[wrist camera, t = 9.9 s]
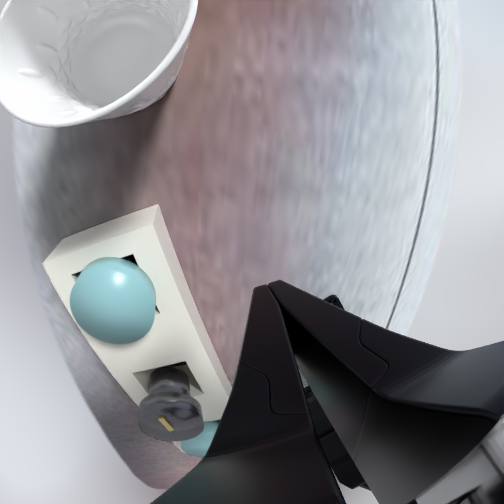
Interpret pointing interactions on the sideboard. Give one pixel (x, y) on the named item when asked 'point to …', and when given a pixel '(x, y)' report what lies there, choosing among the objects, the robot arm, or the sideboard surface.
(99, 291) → the near knob
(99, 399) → the sideboard surface
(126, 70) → the white cup
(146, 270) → the knob housing
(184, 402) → the pot dial
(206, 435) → the far knob
